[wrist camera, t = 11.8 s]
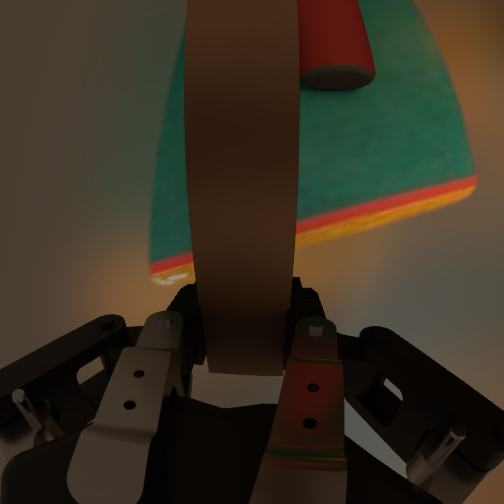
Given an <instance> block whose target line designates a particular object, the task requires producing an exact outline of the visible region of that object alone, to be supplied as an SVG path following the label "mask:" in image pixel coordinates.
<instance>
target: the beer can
mask: <svg viewBox="0 0 504 504" xmlns="http://www.w3.org/2000/svg"><path fill="white" fill-rule="evenodd" d="M297 13H298V36H299V77H300V78H301V80H302V81H303V82H304V83H305V84H307V85H309V86H311V87H313V88H317V89H323V90H350V89H356V88H360V87H363V86H366V85H368V84H369V83H371V82H372V81H373V80H374V78H375V74H376V72H375V67H374V62H373V57H372V53H371V48H370V44H369V40H368V36H367V32H366V29H365V25H364V21H363V18H362V15H361V11H360V8H359V5H358V2H357V0H297Z"/></svg>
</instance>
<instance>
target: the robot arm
mask: <svg viewBox="0 0 504 504" xmlns="http://www.w3.org/2000/svg"><path fill="white" fill-rule="evenodd" d="M336 331H337V330H336V326H335V324H334V323H333V322H332V321H330V320H328V319H326V317H325V313H324V311H323V307H322V305H321V302H320V299H319V296H318V293H317V292H315V291H314V290H313V289H312V288H302V285H301V281H300V277H292V290H291V301H290V310H287V317H286V328H285V339H284V349H283V370H285V374H284V379H283V384H282V388H281V392H280V397H279V401H278V404H258V405H250V406H243V407H234V408H220V407H217V406H214V405H210V404H207V403H204V402H201V401H197V400H195V399H192V398H191V391H192V379H193V375H192V368H193V365H194V364H198V365H203V363H204V359H205V357H206V354H207V350H206V343H205V337H204V330H203V323H202V316H201V308H200V306H199V302H198V294H197V286H196V281H195V283H194V284H187V285H186V286H184V287H183V288H181V289H180V290H179V292H178V293H177V295H176V296H175V298H174V300H173V301H172V302H171V303H170V305H169V306H168V308H167V309H166V311H160V312H156V313H154V314H152V315H150V316H149V317H148V318H147V319H146V322H145V324H144V326H134V327H126V323H125V320H124V318H123V317H121V316H119V315H114V314H110V315H104V316H101V317H98V318H96V319H94V320H92V321H90V322H89V323H87V324H85V325H83V326H81V327H79V328H77V329H75V330H73V331H71V332H69V333H67V334H66V335H64V336H62V337H60V338H58V339H56V340H54V341H52V342H50V343H49V344H47V345H45V346H43V347H41V348H39V349H37V350H36V351H34V352H32V353H30V354H28V355H26V356H24V357H22V358H21V359H19V360H17V361H15V362H13V363H11V364H10V365H8V366H6V367H4V368H2V369H0V448H1V450H2V452H3V454H4V456H5V458H6V459H7V461H8V463H7V464H6V466H5V468H4V470H3V473H2V477H1V496H0V504H462V503H463V502H464V501H465V500H466V498H467V497H468V496H469V495H470V494H471V492H473V490H474V489H475V488H476V487H477V485H478V484H479V483H480V482H481V480H482V479H484V478H485V477H486V476H487V475H488V474H489V473H490V472H491V471H492V470H494V469H495V468H496V466H498V465H499V464H500V463H501V462H502V461H503V460H504V411H503V410H502V409H500V408H499V407H498V406H496V405H495V404H494V403H492V402H491V401H489V400H488V399H487V398H486V397H484V396H483V395H481V394H480V393H479V392H477V391H476V390H475V389H473V388H472V387H470V386H469V385H468V384H466V383H465V382H464V381H462V380H461V379H459V378H458V377H457V376H455V375H454V374H453V373H451V372H449V371H448V370H447V369H446V368H444V367H443V366H441V365H440V364H438V363H437V362H436V361H434V360H433V359H432V358H430V357H429V356H427V355H426V354H424V353H423V352H422V351H420V350H419V349H417V348H416V347H415V346H413V345H412V344H410V343H409V342H407V341H406V340H404V339H403V338H402V337H400V336H399V335H397V334H396V333H395V332H393V331H392V330H390V329H387V328H384V327H380V326H371V327H366V328H364V329H363V330H362V331H361V332H360V335H359V337H354V336H348V335H343V334H340V333H338V332H336ZM99 356H100V359H101V361H102V364H103V367H104V369H103V370H102V371H100V372H99V373H97V374H96V375H94V376H93V377H91V378H89V379H88V380H86V381H85V382H83V383H82V384H80V385H79V383H78V381H77V372H78V370H79V369H80V368H81V367H83V366H84V365H86V364H88V363H89V362H91V361H93V360H94V359H96V358H97V357H99ZM386 378H387V379H388V380H389V381H390V382H392V383H393V384H394V385H395V386H396V387H397V388H398V389H399V390H400V391H401V393H402V396H403V401H401V400H400V399H399V398H398V397H397V396H396V395H395V394H394V393H393V392H391V391H390V390H389V389H388V388H387V387H386V386H385V385H384V382H385V379H386ZM344 397H345V399H346V401H347V402H348V403H349V404H350V405H351V406H352V407H353V408H354V409H355V410H356V412H357V413H358V414H359V415H360V416H361V417H362V418H363V419H364V420H365V421H366V422H367V423H368V424H369V425H370V427H371V428H372V429H373V430H374V431H375V432H376V433H377V434H378V435H379V436H380V437H381V438H382V439H383V440H384V441H385V442H386V443H387V444H388V445H389V446H390V448H391V449H392V450H393V451H394V452H395V453H396V454H397V455H398V456H399V457H400V458H401V459H402V460H403V461H404V462H405V463H406V464H407V465H406V474H407V476H408V478H407V479H406V478H404V477H402V476H401V475H399V474H398V473H396V472H395V471H394V470H392V469H391V468H389V467H388V466H386V465H385V464H384V463H382V462H381V461H379V460H378V459H376V458H375V457H374V456H372V455H371V454H370V453H368V452H367V451H366V450H364V449H363V448H362V447H360V446H359V445H358V444H356V443H355V442H354V441H352V440H351V439H350V438H349V437H347V436H346V435H345V434H344ZM94 418H95V419H94ZM93 419H94V421H93V422H91V423H89V422H90V421H91V420H93ZM87 423H89V424H87ZM86 424H87V425H86ZM84 425H85V426H84Z"/></svg>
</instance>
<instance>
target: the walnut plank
mask: <svg viewBox="0 0 504 504" xmlns="http://www.w3.org/2000/svg"><path fill="white" fill-rule="evenodd" d="M184 120H185V152H186V173H187V190H188V204H189V217H190V229H191V240H192V250H193V260H194V269H195V278H196V286H197V294H198V302H199V306H200V308H201V316H202V323H203V330H204V337H205V343H206V350H207V354H206V356H207V362H208V368H209V372H211V373H222V374H223V373H224V374H237V375H259V376H283V349H284V339H285V328H286V317H287V310H290V301H291V290H292V277H293V264H294V250H295V234H296V216H297V195H298V169H299V123H300V78H299V36H298V13H297V0H187V13H186V31H185V60H184Z"/></svg>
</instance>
